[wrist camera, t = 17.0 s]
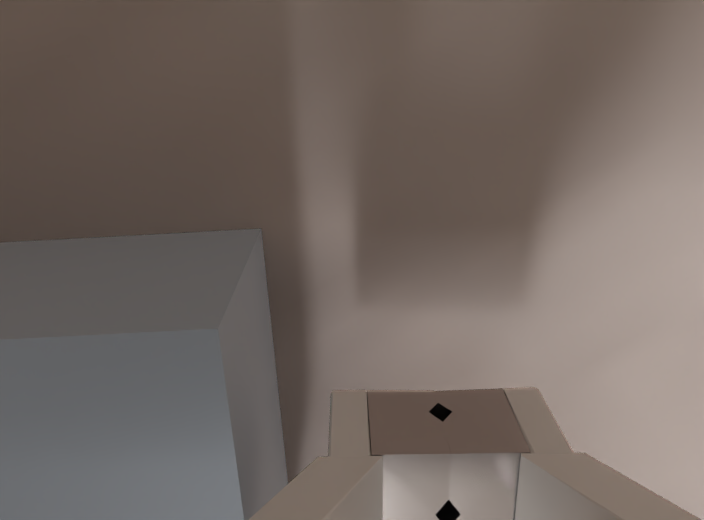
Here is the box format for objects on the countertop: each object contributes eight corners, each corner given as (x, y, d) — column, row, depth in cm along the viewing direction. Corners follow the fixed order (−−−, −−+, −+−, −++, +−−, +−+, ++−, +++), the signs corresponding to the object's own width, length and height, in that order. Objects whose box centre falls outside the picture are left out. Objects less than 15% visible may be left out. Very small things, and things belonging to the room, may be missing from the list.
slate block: (292, 509, 13) (269, 706, 9) (-2, 523, 13) (-145, 724, 9) (262, 225, 11) (218, 328, 7) (-87, 243, 11) (-314, 356, 7)
